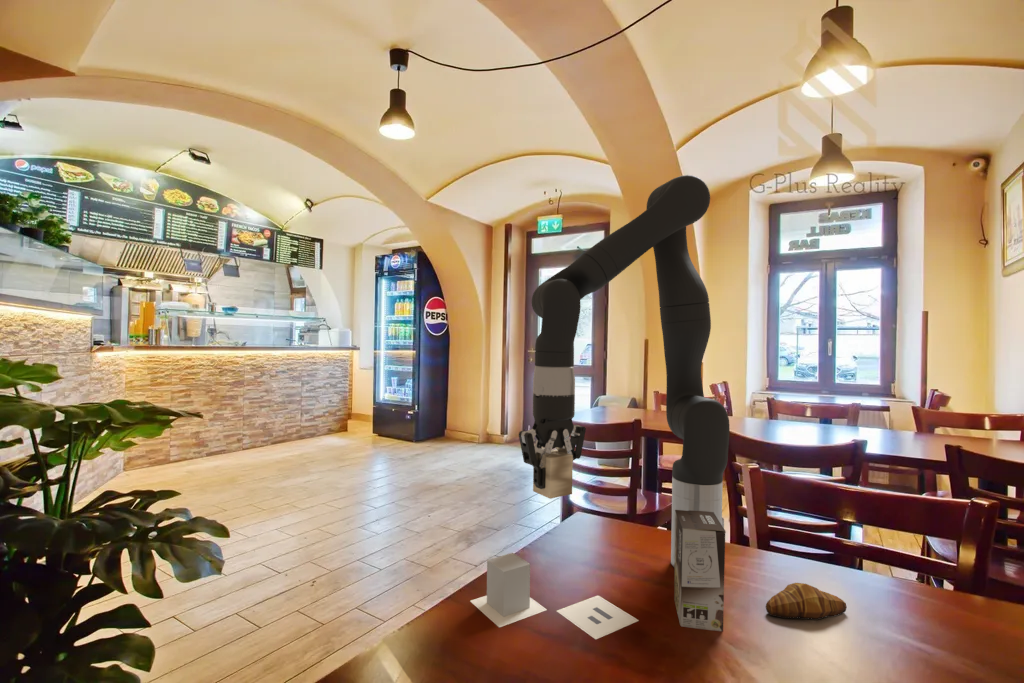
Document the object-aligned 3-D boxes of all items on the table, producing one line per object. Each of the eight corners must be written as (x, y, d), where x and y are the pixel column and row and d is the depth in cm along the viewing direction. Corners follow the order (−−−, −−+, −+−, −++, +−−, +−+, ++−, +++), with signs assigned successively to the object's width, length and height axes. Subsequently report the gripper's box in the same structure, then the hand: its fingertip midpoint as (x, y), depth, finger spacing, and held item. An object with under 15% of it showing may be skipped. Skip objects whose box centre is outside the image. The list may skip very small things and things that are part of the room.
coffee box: (725, 640, 75) (726, 531, 75) (679, 634, 76) (681, 527, 76) (713, 607, 84) (715, 510, 84) (672, 603, 85) (674, 507, 85)
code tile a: (597, 602, 85) (597, 595, 85) (638, 628, 78) (639, 620, 78) (556, 618, 80) (556, 610, 80) (595, 647, 73) (595, 639, 73)
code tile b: (515, 593, 88) (515, 586, 88) (547, 617, 80) (547, 609, 80) (469, 608, 83) (469, 600, 83) (499, 635, 75) (499, 627, 75)
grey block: (512, 594, 85) (512, 552, 85) (529, 607, 81) (530, 564, 81) (486, 602, 82) (487, 559, 82) (503, 617, 78) (503, 571, 78)
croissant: (828, 601, 87) (829, 572, 87) (860, 623, 80) (860, 592, 80) (754, 605, 85) (754, 575, 85) (780, 628, 79) (780, 596, 79)
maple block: (554, 486, 95) (555, 449, 95) (572, 494, 91) (572, 455, 91) (533, 491, 92) (533, 452, 92) (550, 498, 88) (550, 458, 88)
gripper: (570, 387, 99) (569, 475, 99) (509, 391, 91) (507, 486, 91) (597, 391, 92) (596, 484, 92) (534, 395, 84) (532, 497, 84)
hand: (552, 484), depth 92 cm, fingers closed on maple block, 5 cm apart
